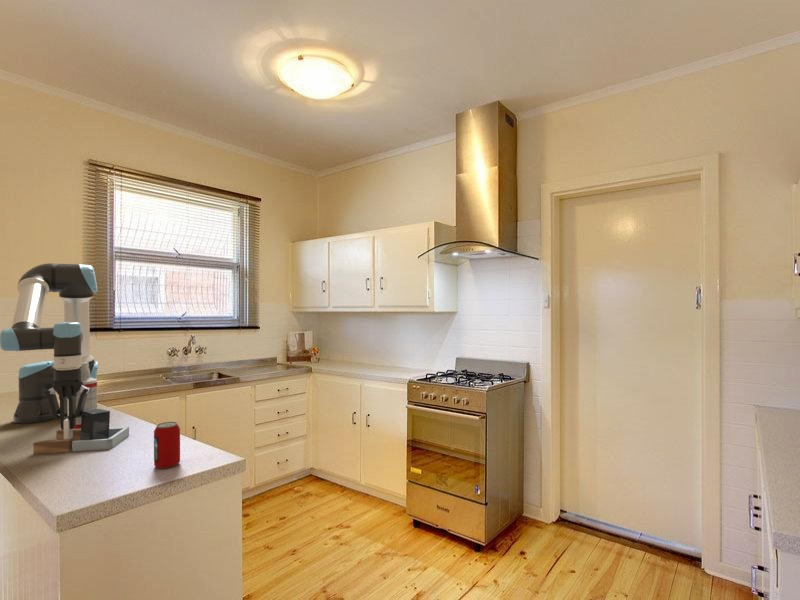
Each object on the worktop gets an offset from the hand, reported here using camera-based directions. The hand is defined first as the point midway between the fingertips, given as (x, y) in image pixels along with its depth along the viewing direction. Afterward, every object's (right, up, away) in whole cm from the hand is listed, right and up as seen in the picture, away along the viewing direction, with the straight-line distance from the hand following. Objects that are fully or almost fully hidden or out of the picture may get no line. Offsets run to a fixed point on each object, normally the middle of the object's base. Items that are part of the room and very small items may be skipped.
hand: (68, 438), depth 150 cm
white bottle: (-8, -3, +20) cm, 21 cm away
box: (+7, -2, +2) cm, 8 cm away
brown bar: (-1, -2, 0) cm, 2 cm away
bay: (+10, -2, +2) cm, 11 cm away
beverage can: (+44, -2, -20) cm, 48 cm away
